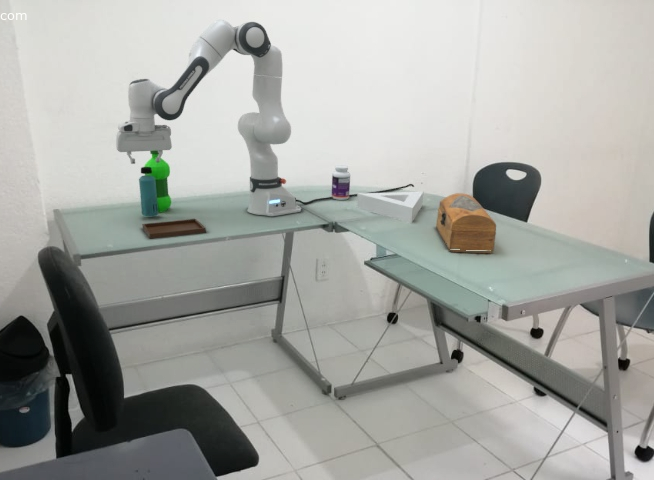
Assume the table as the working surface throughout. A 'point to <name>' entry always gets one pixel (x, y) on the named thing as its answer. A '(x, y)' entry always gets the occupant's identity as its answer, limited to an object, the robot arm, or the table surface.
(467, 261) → the table surface
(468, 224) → the wooden box
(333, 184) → the pill bottle
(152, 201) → the beverage bottle
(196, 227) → the tray
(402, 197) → the triangle block
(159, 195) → the plastic bottle
